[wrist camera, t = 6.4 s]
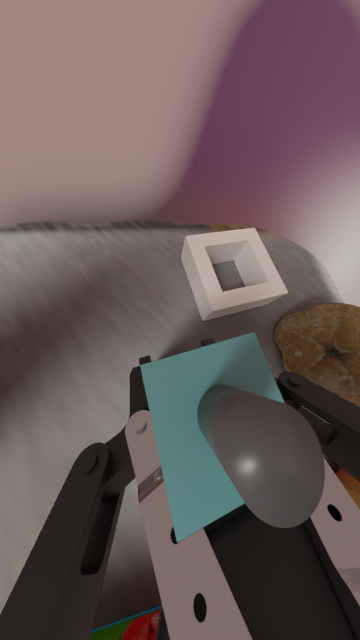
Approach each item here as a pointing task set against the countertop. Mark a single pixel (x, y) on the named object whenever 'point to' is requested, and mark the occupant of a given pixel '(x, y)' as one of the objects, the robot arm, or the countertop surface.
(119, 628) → the blue printed box
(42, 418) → the countertop surface
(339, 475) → the apple
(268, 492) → the teal block with knob
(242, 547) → the robot arm
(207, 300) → the socket
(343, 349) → the fossil
